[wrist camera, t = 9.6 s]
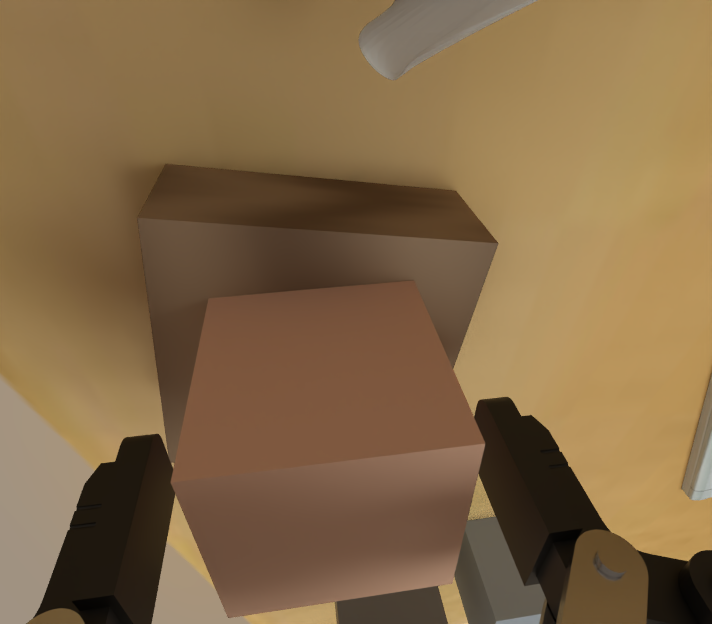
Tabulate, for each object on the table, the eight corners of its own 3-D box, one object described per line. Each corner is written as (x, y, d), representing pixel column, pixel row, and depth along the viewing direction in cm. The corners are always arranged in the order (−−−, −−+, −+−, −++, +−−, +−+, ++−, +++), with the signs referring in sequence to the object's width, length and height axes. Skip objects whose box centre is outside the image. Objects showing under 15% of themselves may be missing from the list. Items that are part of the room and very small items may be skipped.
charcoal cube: (421, 525, 28) (449, 629, 24) (414, 569, 31) (437, 667, 27) (330, 538, 27) (341, 647, 23) (332, 581, 31) (343, 684, 26)
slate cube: (547, 508, 29) (596, 604, 25) (528, 552, 32) (568, 644, 28) (461, 520, 28) (496, 621, 24) (450, 564, 32) (479, 660, 27)
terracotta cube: (414, 280, 13) (485, 443, 8) (404, 415, 16) (452, 583, 12) (208, 297, 12) (170, 482, 8) (241, 434, 16) (228, 618, 11)
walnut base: (452, 186, 16) (498, 243, 13) (398, 380, 21) (421, 455, 18) (168, 159, 14) (137, 217, 11) (186, 379, 19) (169, 462, 16)
